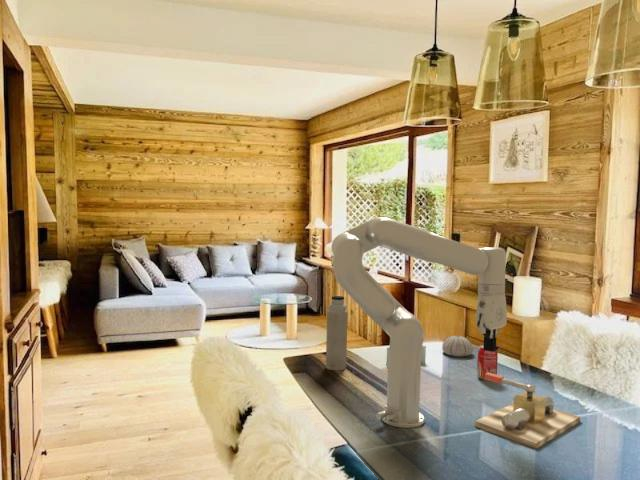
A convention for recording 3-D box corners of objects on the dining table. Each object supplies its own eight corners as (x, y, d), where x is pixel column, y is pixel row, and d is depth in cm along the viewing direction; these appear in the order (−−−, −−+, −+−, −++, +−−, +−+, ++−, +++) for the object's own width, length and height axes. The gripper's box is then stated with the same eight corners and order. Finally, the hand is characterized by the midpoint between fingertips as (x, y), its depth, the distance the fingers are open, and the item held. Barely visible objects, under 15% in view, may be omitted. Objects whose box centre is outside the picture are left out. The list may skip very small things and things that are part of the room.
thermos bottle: (321, 367, 198) (323, 296, 196) (333, 363, 204) (335, 294, 203) (338, 371, 193) (340, 298, 192) (350, 366, 200) (351, 296, 198)
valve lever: (536, 391, 148) (537, 385, 148) (532, 393, 146) (532, 387, 146) (488, 377, 160) (489, 372, 159) (484, 379, 158) (484, 373, 158)
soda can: (482, 374, 195) (483, 343, 194) (500, 378, 190) (501, 346, 189) (473, 377, 190) (474, 346, 189) (491, 382, 185) (492, 350, 184)
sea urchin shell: (441, 356, 218) (441, 338, 217) (442, 348, 231) (442, 331, 230) (473, 359, 214) (474, 341, 214) (472, 351, 227) (473, 333, 227)
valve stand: (536, 448, 133) (537, 413, 132) (474, 426, 146) (476, 394, 146) (580, 421, 151) (581, 390, 151) (522, 403, 165) (523, 375, 164)
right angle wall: (386, 366, 204) (386, 347, 204) (398, 359, 214) (398, 341, 214) (414, 371, 198) (415, 352, 197) (425, 363, 208) (425, 345, 208)
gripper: (489, 293, 142) (487, 357, 143) (516, 288, 152) (514, 348, 153) (466, 290, 148) (464, 352, 149) (493, 285, 157) (491, 343, 158)
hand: (489, 350), depth 151 cm, fingers closed
